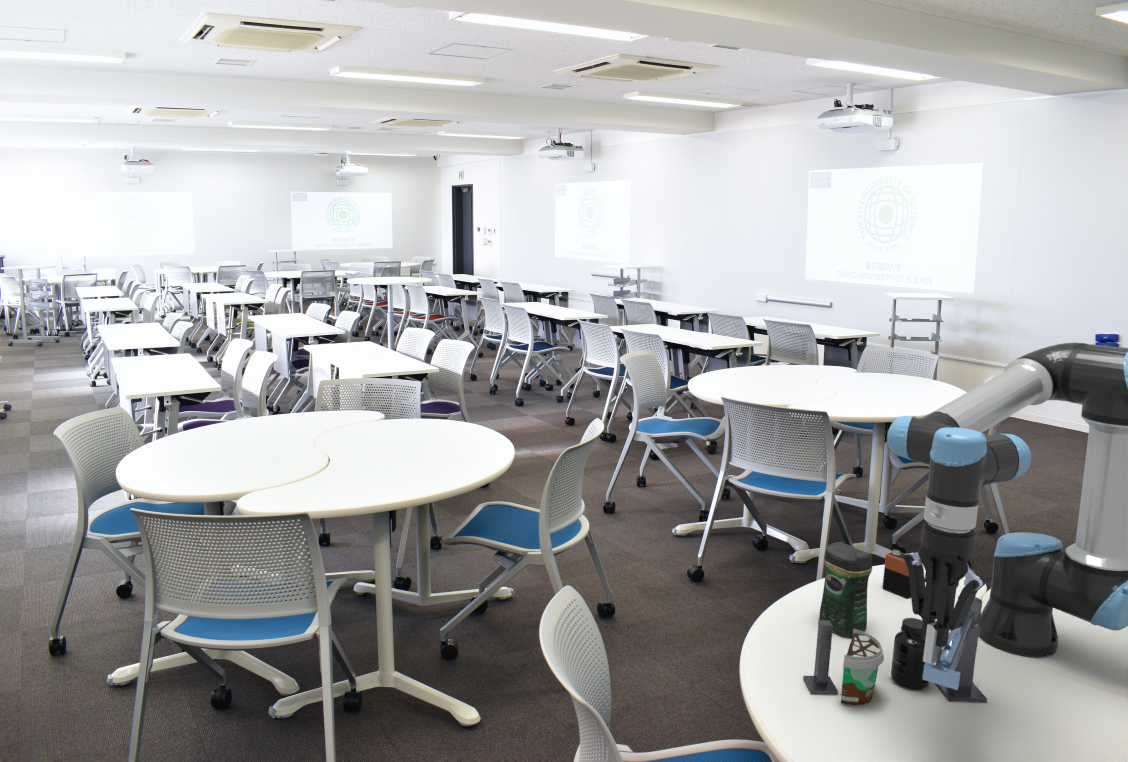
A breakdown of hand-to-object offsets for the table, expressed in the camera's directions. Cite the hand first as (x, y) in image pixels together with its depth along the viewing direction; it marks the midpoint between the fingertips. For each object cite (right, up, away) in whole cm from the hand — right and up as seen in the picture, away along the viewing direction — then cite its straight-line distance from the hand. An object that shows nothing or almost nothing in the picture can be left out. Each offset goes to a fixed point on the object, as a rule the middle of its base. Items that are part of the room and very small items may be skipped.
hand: (931, 660), depth 130 cm
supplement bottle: (+6, -12, +21) cm, 25 cm away
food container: (-5, -12, +16) cm, 21 cm away
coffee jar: (0, -8, +42) cm, 43 cm away
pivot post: (+14, -12, +18) cm, 26 cm away
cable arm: (+7, 0, +5) cm, 8 cm away
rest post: (-12, -12, +19) cm, 25 cm away
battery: (+20, -5, +61) cm, 64 cm away
